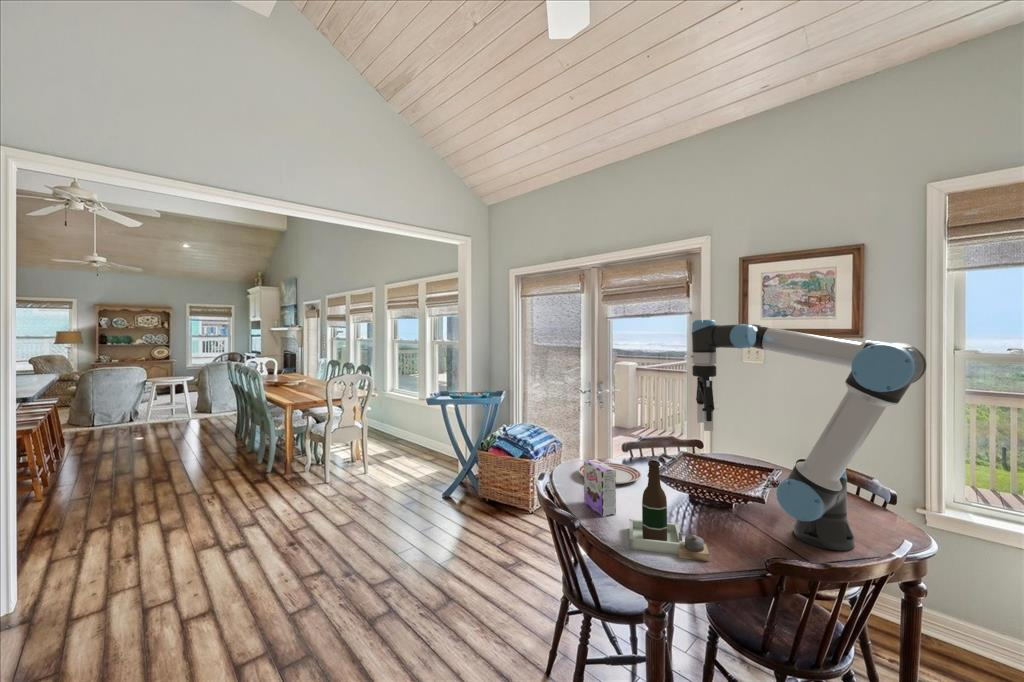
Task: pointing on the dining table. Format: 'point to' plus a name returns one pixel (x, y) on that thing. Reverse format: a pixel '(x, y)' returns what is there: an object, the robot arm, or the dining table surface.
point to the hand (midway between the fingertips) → (704, 426)
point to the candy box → (600, 487)
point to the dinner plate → (620, 472)
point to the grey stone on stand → (693, 548)
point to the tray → (655, 545)
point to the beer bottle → (654, 506)
